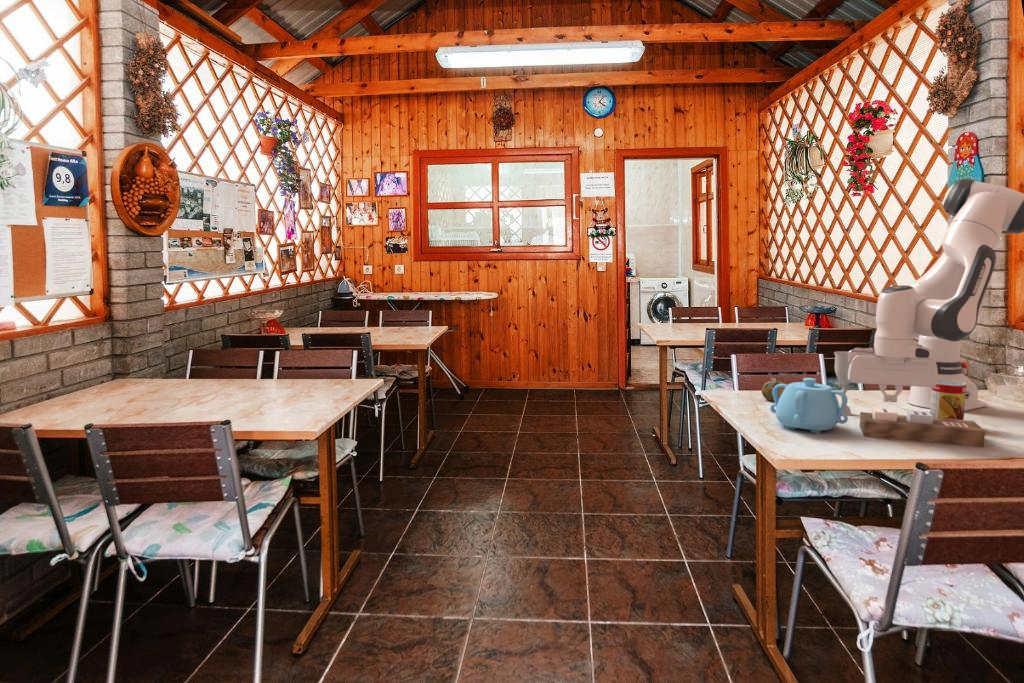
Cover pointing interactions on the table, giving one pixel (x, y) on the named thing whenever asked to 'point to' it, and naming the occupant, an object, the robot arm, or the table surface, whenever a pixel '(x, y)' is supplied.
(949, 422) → the tile three
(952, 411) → the canned food
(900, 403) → the table surface
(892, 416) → the tile one
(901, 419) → the button board
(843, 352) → the chalice
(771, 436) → the table surface
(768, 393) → the onion
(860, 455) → the table surface
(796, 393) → the decorative pot
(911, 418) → the tile two
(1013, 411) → the table surface
